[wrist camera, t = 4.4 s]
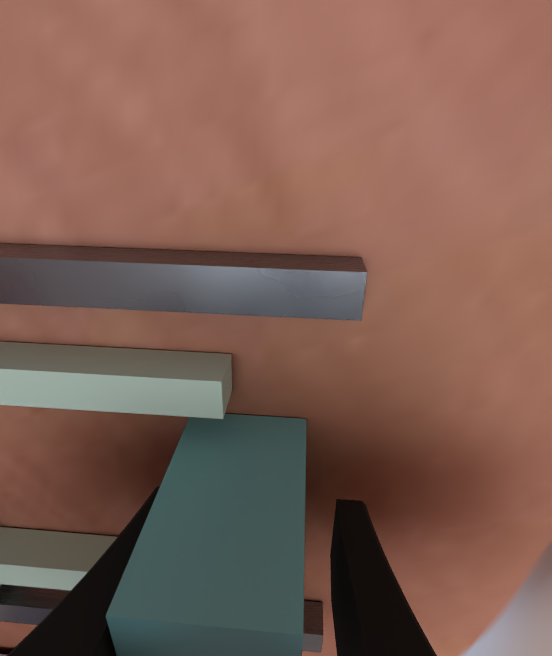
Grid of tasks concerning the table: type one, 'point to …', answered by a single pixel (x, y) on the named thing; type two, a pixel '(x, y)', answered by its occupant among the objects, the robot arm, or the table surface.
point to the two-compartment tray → (178, 505)
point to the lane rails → (176, 296)
